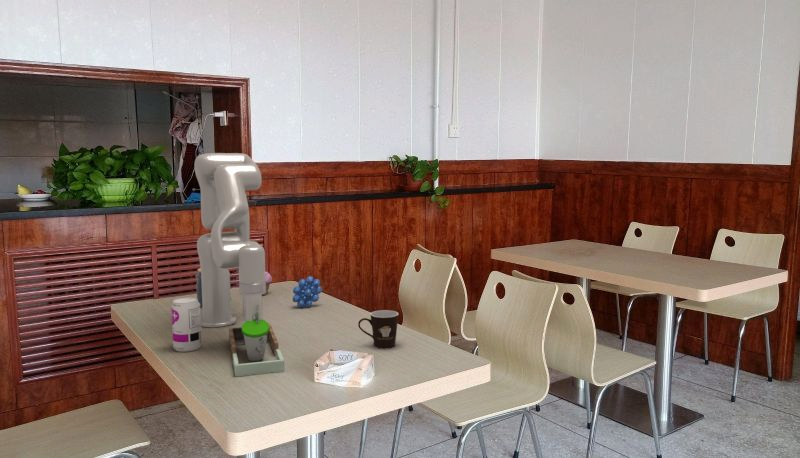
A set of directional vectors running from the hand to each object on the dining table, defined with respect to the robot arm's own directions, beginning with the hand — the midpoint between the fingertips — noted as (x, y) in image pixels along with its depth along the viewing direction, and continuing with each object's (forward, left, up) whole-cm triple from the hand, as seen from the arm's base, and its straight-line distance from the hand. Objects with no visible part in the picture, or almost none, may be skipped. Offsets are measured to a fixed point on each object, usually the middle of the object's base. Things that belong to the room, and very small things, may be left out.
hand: (254, 348), depth 185 cm
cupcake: (-46, +64, -2) cm, 79 cm away
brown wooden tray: (-4, +4, -2) cm, 6 cm away
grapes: (-17, +54, -2) cm, 57 cm away
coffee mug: (+30, +23, -2) cm, 38 cm away
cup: (+3, -3, -1) cm, 5 cm away
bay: (+8, -9, -2) cm, 12 cm away
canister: (-52, +42, -2) cm, 67 cm away
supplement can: (-22, -4, -2) cm, 23 cm away
